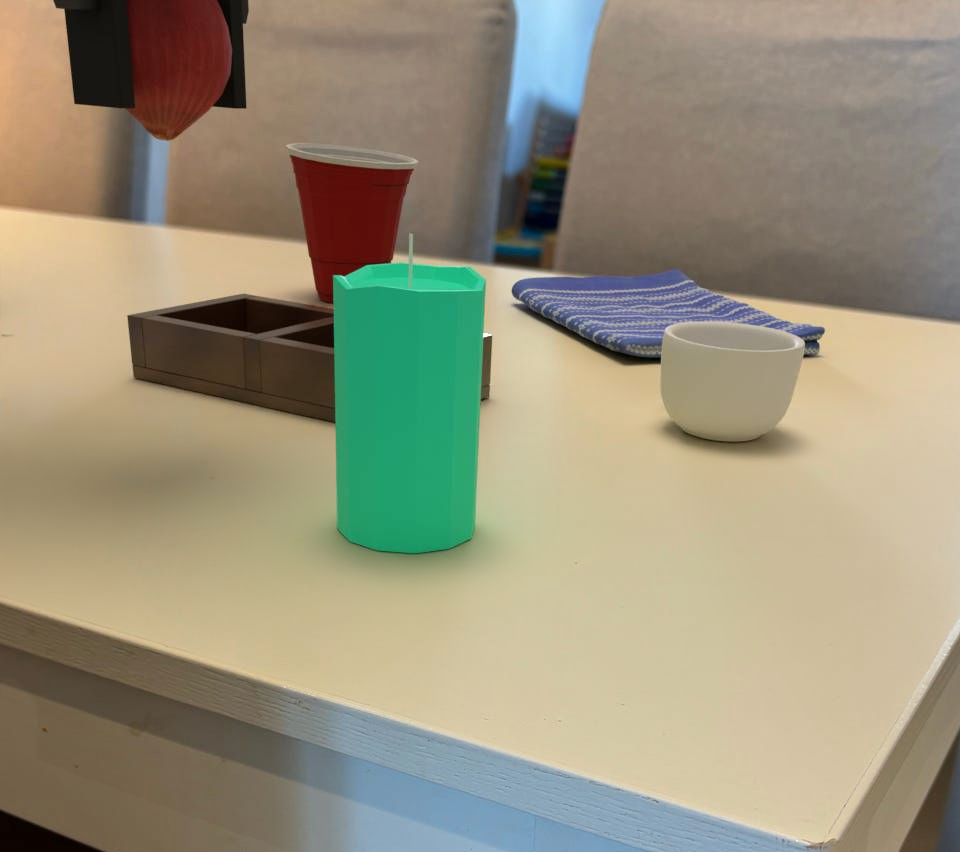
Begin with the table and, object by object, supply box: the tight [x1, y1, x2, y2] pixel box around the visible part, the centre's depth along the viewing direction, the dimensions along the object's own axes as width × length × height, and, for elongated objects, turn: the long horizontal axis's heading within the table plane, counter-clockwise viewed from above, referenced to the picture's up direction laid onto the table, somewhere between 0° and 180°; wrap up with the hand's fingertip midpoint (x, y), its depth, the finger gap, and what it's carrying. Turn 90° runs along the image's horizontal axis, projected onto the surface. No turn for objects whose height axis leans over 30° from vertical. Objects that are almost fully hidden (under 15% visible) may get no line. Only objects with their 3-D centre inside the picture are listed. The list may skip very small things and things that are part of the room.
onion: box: [124, 0, 232, 142], centre depth 46 cm, size 6×6×8 cm
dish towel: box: [511, 269, 826, 359], centre depth 89 cm, size 17×24×3 cm
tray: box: [126, 293, 493, 423], centre depth 67 cm, size 20×10×4 cm, turn 59°
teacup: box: [659, 322, 805, 443], centre depth 63 cm, size 10×8×5 cm
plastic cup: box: [285, 142, 420, 304], centre depth 93 cm, size 11×11×12 cm
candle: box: [333, 233, 487, 554], centre depth 45 cm, size 6×6×12 cm
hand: (164, 105), depth 47 cm, fingers closed on onion, 6 cm apart
